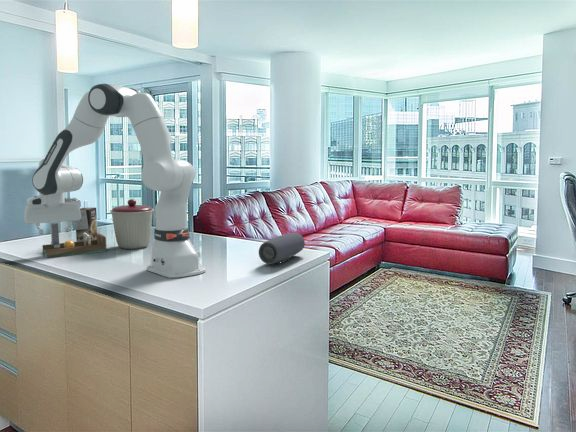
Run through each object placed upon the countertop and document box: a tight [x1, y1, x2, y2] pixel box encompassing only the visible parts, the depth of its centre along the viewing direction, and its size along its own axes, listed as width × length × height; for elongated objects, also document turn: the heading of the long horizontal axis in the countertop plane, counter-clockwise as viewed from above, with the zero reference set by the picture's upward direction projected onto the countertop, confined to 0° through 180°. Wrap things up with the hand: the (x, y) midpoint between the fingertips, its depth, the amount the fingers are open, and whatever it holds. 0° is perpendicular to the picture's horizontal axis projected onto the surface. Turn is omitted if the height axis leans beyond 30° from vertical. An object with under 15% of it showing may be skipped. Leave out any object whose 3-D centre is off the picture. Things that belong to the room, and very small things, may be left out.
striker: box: [49, 222, 60, 249], centre depth 179 cm, size 8×2×11 cm, turn 36°
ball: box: [63, 239, 75, 248], centre depth 182 cm, size 4×4×4 cm
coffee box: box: [74, 207, 99, 242], centre depth 199 cm, size 9×6×16 cm
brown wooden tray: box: [42, 232, 107, 259], centre depth 183 cm, size 12×22×7 cm, turn 126°
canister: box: [109, 198, 155, 250], centre depth 193 cm, size 18×18×21 cm
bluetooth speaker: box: [258, 232, 306, 265], centre depth 171 cm, size 23×9×10 cm, turn 152°
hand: (54, 233), depth 178 cm, fingers open, 8 cm apart
